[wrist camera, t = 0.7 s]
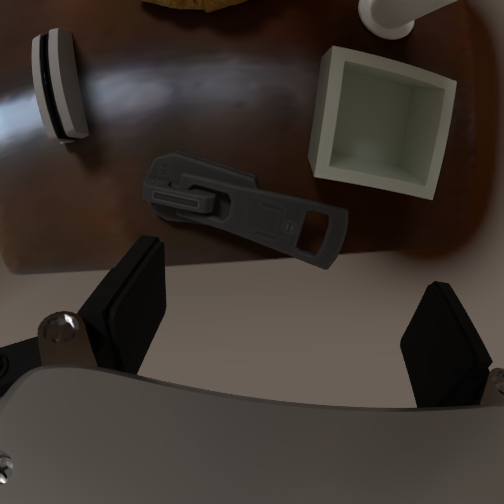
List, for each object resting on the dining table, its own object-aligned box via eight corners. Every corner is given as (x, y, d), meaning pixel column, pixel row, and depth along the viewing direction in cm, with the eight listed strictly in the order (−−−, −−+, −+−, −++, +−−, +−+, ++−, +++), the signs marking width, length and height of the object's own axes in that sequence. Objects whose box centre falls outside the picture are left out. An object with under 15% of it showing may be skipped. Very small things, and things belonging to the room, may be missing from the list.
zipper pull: (331, 276, 38) (129, 228, 37) (326, 250, 43) (149, 209, 43) (357, 208, 33) (133, 157, 33) (346, 190, 39) (155, 146, 39)
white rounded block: (46, 44, 32) (19, 32, 23) (74, 33, 33) (52, 16, 24) (64, 145, 39) (39, 154, 31) (92, 135, 40) (73, 141, 31)
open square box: (321, 57, 32) (332, 45, 23) (418, 81, 31) (456, 81, 22) (307, 156, 38) (313, 176, 29) (401, 174, 37) (432, 200, 28)
